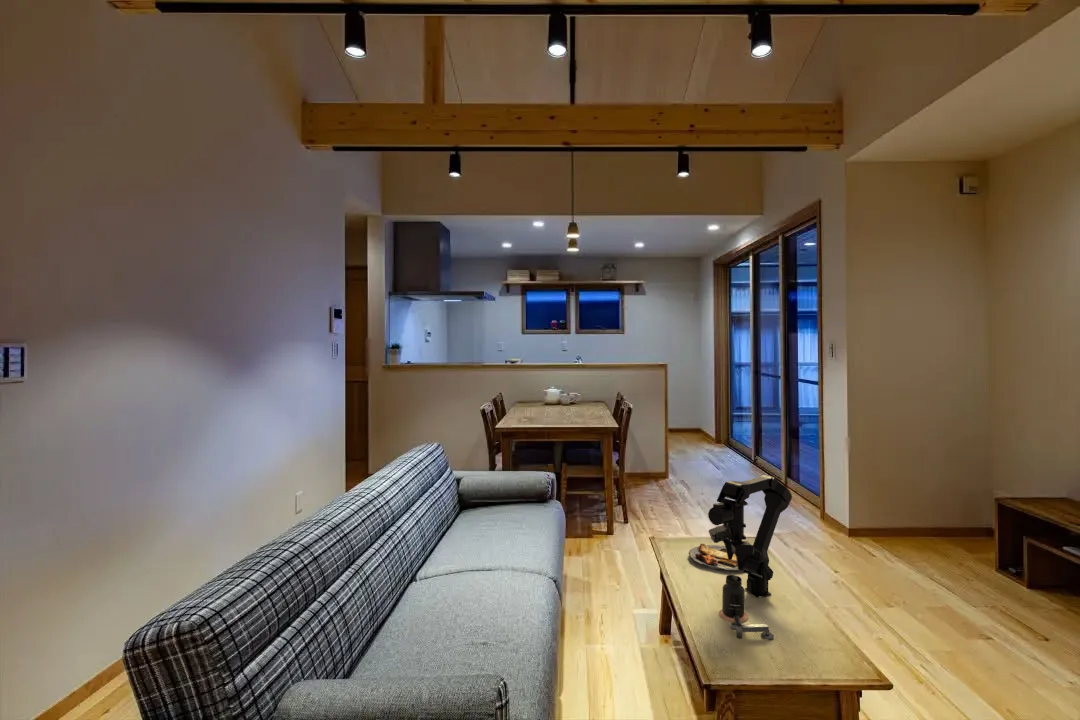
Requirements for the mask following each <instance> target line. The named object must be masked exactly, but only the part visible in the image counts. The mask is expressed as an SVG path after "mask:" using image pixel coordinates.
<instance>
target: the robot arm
mask: <svg viewBox="0 0 1080 720" xmlns="http://www.w3.org/2000/svg"><path fill="white" fill-rule="evenodd" d="M757 492H758V493H759V492H762V493H763V494H764V497H763V499H764V504H765V510H764V512H763V515H762V518H761V521H760V525H759V526H758V527H759V528H758V530H757V532H756V536H755V539H754V541H753V544H751V543H750V542H749V541H748V540H747V536H746V535H745V528H746V527H747V524H746V523H745V513H744V512H745V510H744V509H745V508H744V507H745V506H748V505H749V504H748V502H747V501H746V500H748V499H749V498H750V495H751V494H755V493H757ZM792 495H793V493H791V490H790V489H789V488H787V486H786V485H784V484H782V483H781V482H780V481H779V480H778V479H777V478H776V477H775V476H771V475H767V474H763V475H760V476H758V477H754V478H751V479H747V480H743V481H739V480H738V481H737V480H727V481H725V482H724V484H723V486H722V488H721V490H720V492H719V495H718V497H717V499H716V503H713V504H712V507H711V508H710V509H709V510H708V512H707V517H708V520H709V522H710V523H711V524H712V525H714V526H715V527H713V528H709V530H708V533H709V536H710V539H711V541H713V543H714V544H718V543H720V542H723V543H724V544H723V546H724V547H725V548H726V552H727V556H728V559H729V560H731V559H732V557H733V554H735V555H736V560H737V566H738V570H737V571H743V573H744V574H747V579H746V587H744V590H745V591H746V592H747V593H749V595H752V596H753V597H755V598H758V597H759V598H760V597H761V598H762V597H766V596H771V595H772V593H771V592H770V591H769V581H771V579H773V576H774V571H773V569H772V568H771V567H770V566H769V564H770V558H769V553H768V550H769V547H770V545H771V541H772V540H773V535H774V532H775V530H776V526H777V523H778V522H779V518H780V515H781V513H782V512H784V511H786V509H787V508H788V507H789V505H790V502H792V498H793V496H792Z"/></svg>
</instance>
